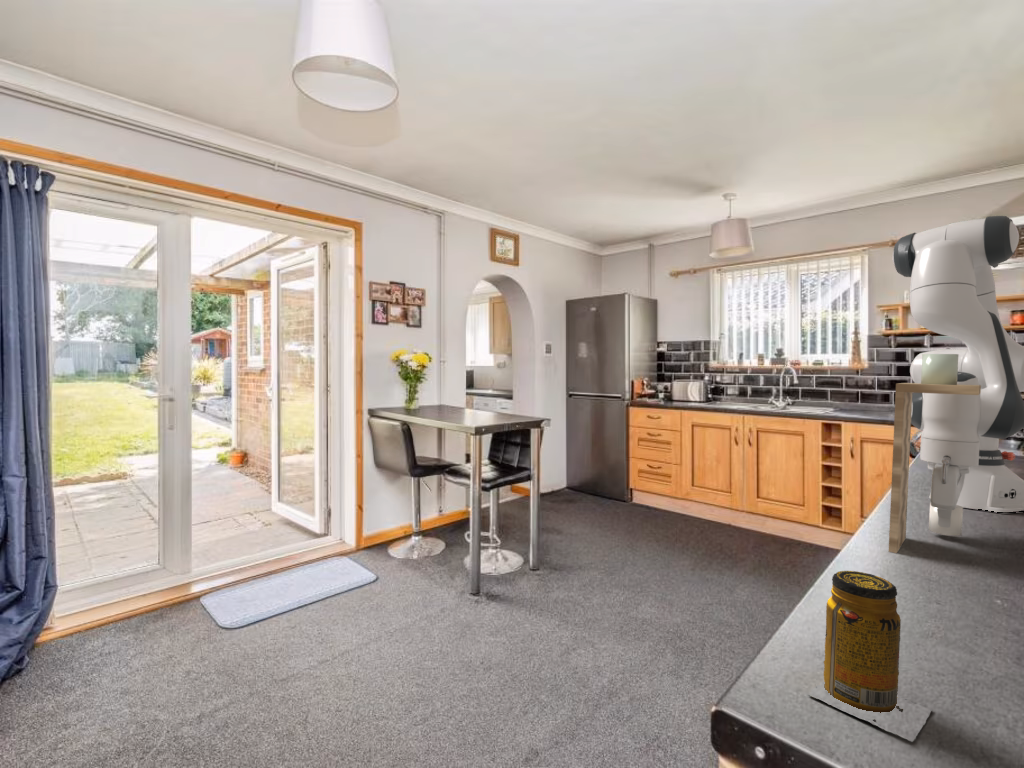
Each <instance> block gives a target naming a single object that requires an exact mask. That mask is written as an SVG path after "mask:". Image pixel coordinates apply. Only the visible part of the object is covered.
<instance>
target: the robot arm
mask: <svg viewBox="0 0 1024 768" xmlns="http://www.w3.org/2000/svg"><path fill="white" fill-rule="evenodd" d="M1019 241H1020V234H1019V230H1018V227H1017V226H1016V224H1015V223H1014V221H1013V219H1012V218H1010V217H1008V216H1006V215H990V216H986V218H985V217H984V218H976V219H975V218H974V219H969V220H962V221H956V222H952V223H949V224H945V225H941V226H938V227H933V228H929V229H927V230H923V231H920V232H912V233H910V234H907V235H904V236H902V237H900V238H899V239H898V241H896V243H894V247H893V251H892V256H891V257H892V263H893V266H894V268H895V271H896V273H898V274H900V275H901V276H903V277H904V278H910V284H909V305H910V313H911V314H910V315H911V317H912V318H913V320H914V321H915V322H916V323H917V324H918V325H920V326H921V327H923V328H925V330H928V331H930V332H932V333H936V334H938V335H942V336H947V337H950V338H952V339H953V338H954V339H956V340H959V341H961V342H963V344H964V345H965V346H966V347H967V348H943V349H935V350H928V351H925V352H920V353H919V354H917V355H916V356H915V357H914V359H913V360H912V362H911V363H910V367H909V373H910V378H911V380H912V381H913V383H921V374H922V354H959V355H958V376H957V384H958V385H981V393H980V394H979V395H963V394H937V393H912V412H911V426H912V425H913V427H915V428H916V429H917V430H921V431H922V432H921V435H920V451H919V453H920V454H919V460H921V461H922V462H927V469H928V470H930V471H932V473H931V483H930V484H931V485H930V494H929V496H928V499H929V500H930V502H931V506H932V507H937V511H938V525H939V526H940V527H946V528H949V527H950V524H951V513H952V510H954V509H955V508H956V505H959V506H962V507H963V509H970V510H971V509H973V510H978V509H982V510H981V511H985V510H988V511H987V512H991V511H994V512H993V513H997V512H1013V511H1021V510H1024V479H1023V478H1021V477H1020V476H1019V475H1017V474H1016V473H1015V472H1014V471H1012V470H1011V469H1010V468H1008V467H1007V466H1006V462H1005V460H1008V461H1014V460H1015V459H1016V454H1015V452H1012V451H1006V450H1004V451H1001V450H1000V449H999V446H1000V445H999V444H1000V440H1001V439H1002V440H1005V439H1006V438H1010V437H1011V436H1014V435H1016V434H1017V433H1019V432H1021V431H1022V429H1024V400H1023V397H1022V392H1023V393H1024V346H1023V345H1021V344H1020V343H1019V342H1017V341H1016V340H1015V339H1014V338H1012V337H1011V335H1010V334H1009V333H1008V332H1007V330H1006V329H1005V328H1004V325H1003V323H1002V322H1001V319H1000V313H999V308H998V303H997V302H998V301H997V294H996V293H997V292H996V283H995V278H994V273H993V270H992V268H994V269H995V268H997V267H998V266H999V265H1000V264H1001V263H1004V262H1007V261H1008V260H1009V259H1011V257H1012V256H1013V255H1015V252H1016V249H1017V247H1018V245H1019ZM930 502H929V503H930Z"/></svg>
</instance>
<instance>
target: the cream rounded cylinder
mask: <svg viewBox="0 0 1024 768" xmlns="http://www.w3.org/2000/svg"><path fill="white" fill-rule="evenodd" d="M963 515H964V507H962V506H959V505H956V508H955V509H954V510H952V513H951V524H950V527H949V528H946V527H940V526H939V525H938V511H937V507H932V506H931V502H929V515H928V516H929V517H928V518H929V519H928V531H930V532H932V533H935V534H938V535H943V536H948V537H961V536H962V535H963V533H962V532H963Z"/></svg>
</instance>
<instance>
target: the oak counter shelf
mask: <svg viewBox="0 0 1024 768" xmlns="http://www.w3.org/2000/svg"><path fill="white" fill-rule="evenodd" d="M913 393H937V394H963V395H979V394H980V393H981V385H958V384H957V385H937V384H921V383H915V382H901V383H895V396H894V399H895V400H894V418H893V419H894V421H893V422H894V423H893V443H892V465H891V468H892V469H891V487H890V509H889V510H890V514H889V531H888V533H889V536H888V539H889V540H888V553H889V552H890V553H894V554H897V553H898V552H899V551H900V548H901V547H902V546H903V544H904V542H905V540H906V539H907V538H906V537H907V522H908V521H907V517H908V497H909V495H908V493H909V477H910V476H909V475H910V474H909V473H910V455H911V454H910V453H911V452H910V451H911V434H912V433H911V429H912V424H911V412H912V394H913Z"/></svg>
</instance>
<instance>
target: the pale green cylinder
mask: <svg viewBox="0 0 1024 768" xmlns="http://www.w3.org/2000/svg"><path fill="white" fill-rule="evenodd" d="M958 355H959V354H922V374H921V384H937V385H957V376H958Z"/></svg>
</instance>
